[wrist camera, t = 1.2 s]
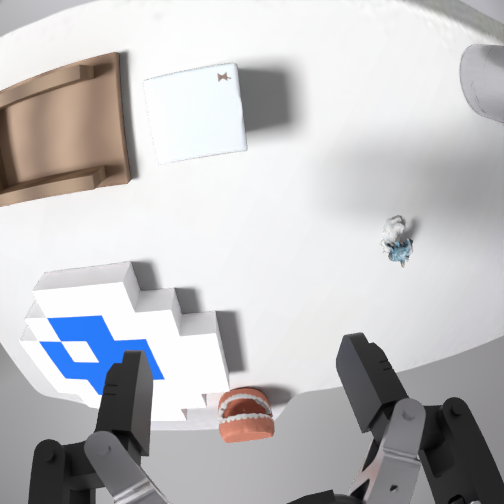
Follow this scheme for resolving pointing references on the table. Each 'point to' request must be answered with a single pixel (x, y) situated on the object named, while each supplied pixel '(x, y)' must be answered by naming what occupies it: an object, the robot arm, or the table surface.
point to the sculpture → (396, 241)
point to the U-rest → (63, 132)
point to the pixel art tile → (123, 338)
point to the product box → (196, 113)
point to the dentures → (245, 416)
